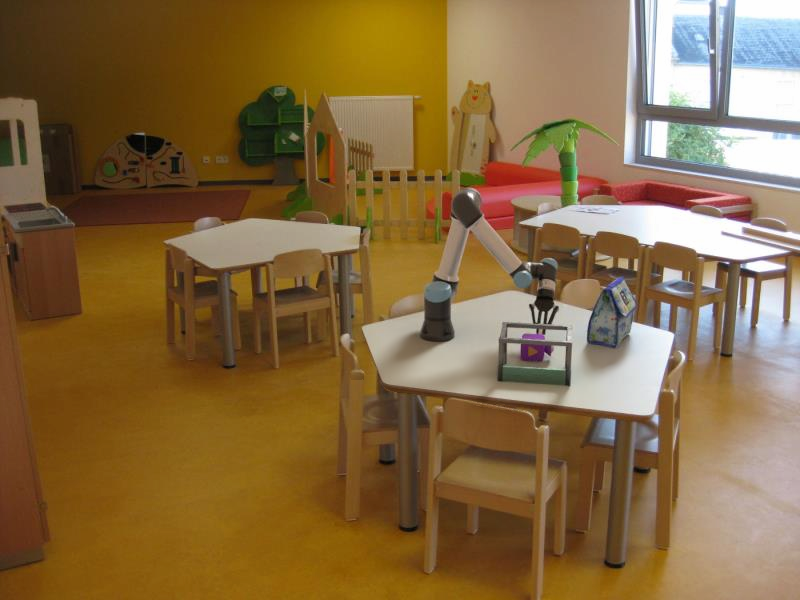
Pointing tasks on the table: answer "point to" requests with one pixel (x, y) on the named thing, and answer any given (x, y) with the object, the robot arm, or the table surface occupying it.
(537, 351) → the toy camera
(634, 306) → the lunch bag
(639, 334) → the table surface
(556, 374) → the frame
